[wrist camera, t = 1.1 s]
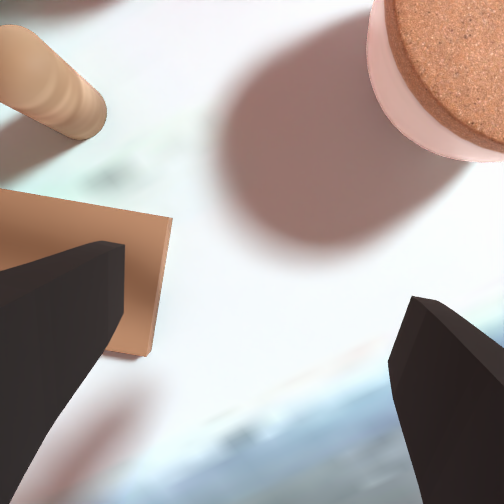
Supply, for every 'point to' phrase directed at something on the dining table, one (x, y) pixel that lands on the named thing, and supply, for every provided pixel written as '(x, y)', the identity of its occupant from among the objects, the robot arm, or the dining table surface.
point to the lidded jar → (441, 73)
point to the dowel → (47, 86)
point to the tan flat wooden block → (86, 231)
